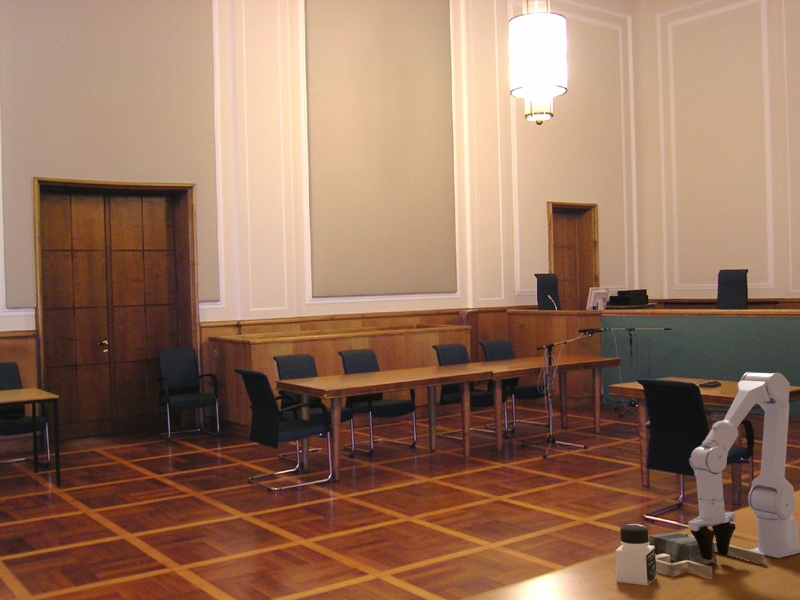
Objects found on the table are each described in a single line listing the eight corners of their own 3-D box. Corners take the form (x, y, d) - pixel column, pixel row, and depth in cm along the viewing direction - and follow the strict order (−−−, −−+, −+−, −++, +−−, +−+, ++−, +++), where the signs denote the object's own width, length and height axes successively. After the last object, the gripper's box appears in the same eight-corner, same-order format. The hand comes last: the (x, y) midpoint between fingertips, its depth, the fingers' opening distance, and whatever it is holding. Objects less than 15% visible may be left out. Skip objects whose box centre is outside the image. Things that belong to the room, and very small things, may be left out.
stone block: (678, 549, 207) (677, 528, 208) (720, 563, 194) (719, 541, 194) (649, 554, 204) (648, 533, 204) (690, 568, 191) (689, 545, 191)
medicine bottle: (648, 586, 179) (645, 531, 180) (616, 582, 183) (613, 528, 183) (656, 577, 185) (654, 523, 186) (625, 573, 189) (623, 521, 189)
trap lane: (687, 544, 212) (687, 534, 212) (765, 564, 192) (764, 553, 192) (618, 559, 200) (617, 549, 200) (693, 583, 180) (692, 571, 180)
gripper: (704, 505, 186) (709, 565, 186) (744, 496, 194) (749, 554, 193) (679, 501, 192) (684, 559, 192) (719, 492, 200) (723, 548, 199)
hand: (715, 556), depth 193 cm, fingers open, 5 cm apart
